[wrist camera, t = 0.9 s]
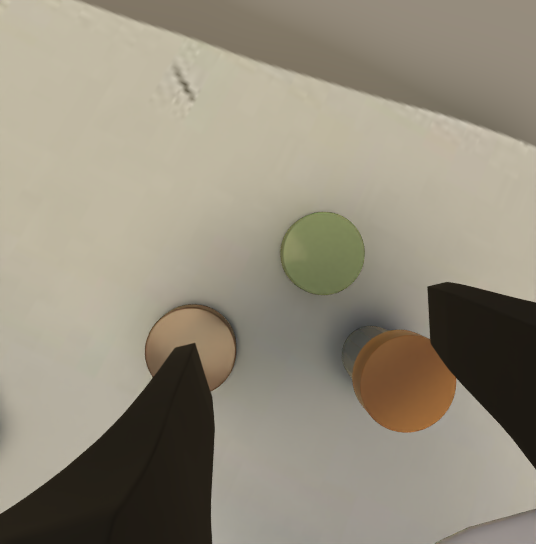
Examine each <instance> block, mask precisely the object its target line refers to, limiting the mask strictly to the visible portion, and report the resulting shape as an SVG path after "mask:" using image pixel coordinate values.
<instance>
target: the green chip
mask: <svg viewBox="0 0 536 544" xmlns="http://www.w3.org/2000/svg"><path fill="white" fill-rule="evenodd" d="M364 256H365V250H364V244H363V240H362V238H361V235H360V233H359V231H358V230H357V229H356V227H355V226H354V225H353V224H352V223H351V222H350V221H349V220H347V219H346V218H344V217H343V216H340V215H338V214H335V213H331V212H317V213H313V214H310V215H307V216H305V217H303V218H301V219H300V220H298V221H297V222H295V223H294V224H293V225H292V226H291V227H290V228H289V230H288V231H287V232H286V234H285V236H284V238H283V241H282V244H281V250H280V257H281V263H282V267H283V269H284V271H285V273H286V275H287V276H288V278H289V279H290V280H291V281H292V282H293V283H294V284H295V285H296V286H298V287H299V288H301V289H303V290H305V291H307V292H309V293H312V294H317V295H330V294H334V293H337V292H340V291H342V290H344V289H345V288H347V287H348V286H349V285H351V284H352V283H353V282H354V281H355V279H356V278H357V277H358V275H359V273H360V271H361V269H362V266H363V263H364Z"/></svg>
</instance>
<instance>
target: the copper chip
mask: <svg viewBox="0 0 536 544" xmlns="http://www.w3.org/2000/svg"><path fill="white" fill-rule="evenodd" d="M352 382H353V388H354V392H355V394H356V397H357V398H358V400H359V402H360V403H361V405H362V406H363V407H364V408H365V410H366V411H367V412H368V413H369V415H370V416H371V417H372V418H373V419H374V420H375V421H376V422H377V423H379V424H380V425H382V426H383V427H385V428H387V429H390V430H393V431H397V432H415V431H419V430H423V429H425V428H427V427H429V426H431V425H433V424H434V423H436V422H437V421H438V420H439V419H440V418H441V417H442V416H443V415H444V414H445V413H446V411H447V410H448V408H449V407H450V405H451V403H452V400H453V398H454V394H455V389H456V377H455V376H454V375H453V374H452V373H451V372H450V370H449V369H448V368H447V367H446V365H445V364H444V363H443V361H442V360H441V358H440V357H439V355H438V354H437V352H436V351H435V350H434V348H433V347H432V345H431V343H430V339H428V338H426V337H424V336H422V335H419V334H417V333H415V332H412V331H408V330H391V331H387V332H384V333H381V334H379V335H377V336H375V337H374V338H372V339H371V340H370V341H369V342H367V344H366V345H365V346H364V347H363V348H362V349H361V351H360V352H359V354H358V356H357V358H356V360H355V363H354V367H353V373H352Z"/></svg>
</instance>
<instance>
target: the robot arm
mask: <svg viewBox="0 0 536 544" xmlns="http://www.w3.org/2000/svg"><path fill="white" fill-rule="evenodd" d="M428 305H429V324H430V343H431V345H432V347H433V348H434V350H435V351H436V352H437V354H438V355H439V357H440V358H441V360H442V361H443V363H444V364H445V365H446V367H447V368H448V369H449V370H450V372H451V373H452V374H453V375H454V376H455V377H456V378H457V379H458V380H459V381H460V382H461V384H462V385H463V386H464V387H465V388H466V389H467V390H468V391H469V392H470V393H471V394H472V395H473V396H474V397H475V398H476V400H477V401H478V402H479V403H480V404H481V405H482V406H483V407H484V408H485V409H486V410H487V411H488V412H489V413H490V414H491V415H492V416H493V418H494V419H495V420H496V421H497V422H498V423H499V424H500V425H501V426H502V427H503V428H504V430H505V431H506V432H507V433H508V434H509V435H510V436H511V438H512V439H513V440H514V441H515V443H516V444H517V445H518V447H519V448H520V449H521V451H522V452H523V453H524V454H525V456H526V457H527V458H528V460H529V461H530V462H531V464H532V465H533V466H534V467H535V469H536V302H531V301H527V300H522V299H518V298H514V297H510V296H506V295H502V294H498V293H494V292H490V291H486V290H482V289H478V288H474V287H470V286H466V285H462V284H457V283H451V282H445V283H441V284H436V285H432V286H428ZM214 433H215V425H214V412H213V400H212V395H211V392H210V389H209V386H208V382H207V379H206V376H205V373H204V369H203V366H202V363H201V360H200V357H199V353H198V350H197V347H196V344H195V343H192V344H188V345H184V346H180V347H175V348H174V349H173V351H172V352H171V353H170V355H169V356H168V358H167V359H166V360H165V362H164V363H163V365H162V366H161V367H160V369H159V370H158V372H157V373H156V374H155V376H154V377H153V378H152V380H151V381H150V382H149V384H148V385H147V386H146V388H145V389H144V390H143V391H142V392H141V394H140V395H139V396H138V397H137V398H136V400H135V401H134V402H133V403H132V404H131V406H130V407H129V408H128V409H127V410H126V412H125V413H124V414H123V415H122V416H121V417H120V418H119V419H118V420H117V421H116V422H115V423H114V424H113V425H112V426H111V427H110V428H109V429H108V430H107V431H106V432H105V433H104V434H103V435H102V436H101V437H100V438H99V439H98V440H97V441H96V442H95V443H94V444H93V445H92V446H90V447H89V448H88V449H87V450H86V451H85V452H83V453H82V454H81V455H80V456H79V457H78V458H76V459H75V460H74V461H73V462H72V463H71V464H69V465H68V466H67V467H66V468H65V469H63V470H62V471H61V472H60V473H58V474H57V475H56V476H54V477H53V478H52V479H50V480H49V481H48V482H46V483H45V484H44V485H42V486H41V487H40V488H38V489H37V490H35V491H34V492H33V493H31V494H30V495H28V496H27V497H26V498H24V499H23V500H21V501H20V502H18V503H17V504H15V505H14V506H12V507H11V508H9V509H8V510H6V511H5V512H3V513H1V514H0V544H212V533H211V490H212V472H213V454H214ZM435 544H536V509H533V510H530V511H526V512H522V513H519V514H515V515H511V516H508V517H504V518H500V519H497V520H493V521H490V522H486V523H482V524H479V525H475V526H471V527H468V528H466V529H464V530H462V531H459V532H457V533H455V534H453V535H451V536H449V537H446V538H444V539H442V540H440V541H438V542H436V543H435Z"/></svg>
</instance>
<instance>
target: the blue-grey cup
mask: <svg viewBox="0 0 536 544" xmlns="http://www.w3.org/2000/svg"><path fill="white" fill-rule="evenodd" d="M387 331H388V330H386V329H384V328H380V327H377V326H365V327H362V328H359V329H357V330H356V331H354V332H353V333H352V334H351V335H350V336H349V337H348V338H347V340H346V341H345V343H344V346H343V349H342V361H343V365H344V367H345V369H346V371H347V372H348V374H349V376H350V377H351V378H352V373H353V367H354V363H355V360H356V358H357V356H358V354H359V352H360V351H361V349H362V348H363V347H364V346H365V345H366V344H367V342H369V341H370V340H371V339H372V338H374V337H375V336H377V335H379V334H381V333H384V332H387Z"/></svg>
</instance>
